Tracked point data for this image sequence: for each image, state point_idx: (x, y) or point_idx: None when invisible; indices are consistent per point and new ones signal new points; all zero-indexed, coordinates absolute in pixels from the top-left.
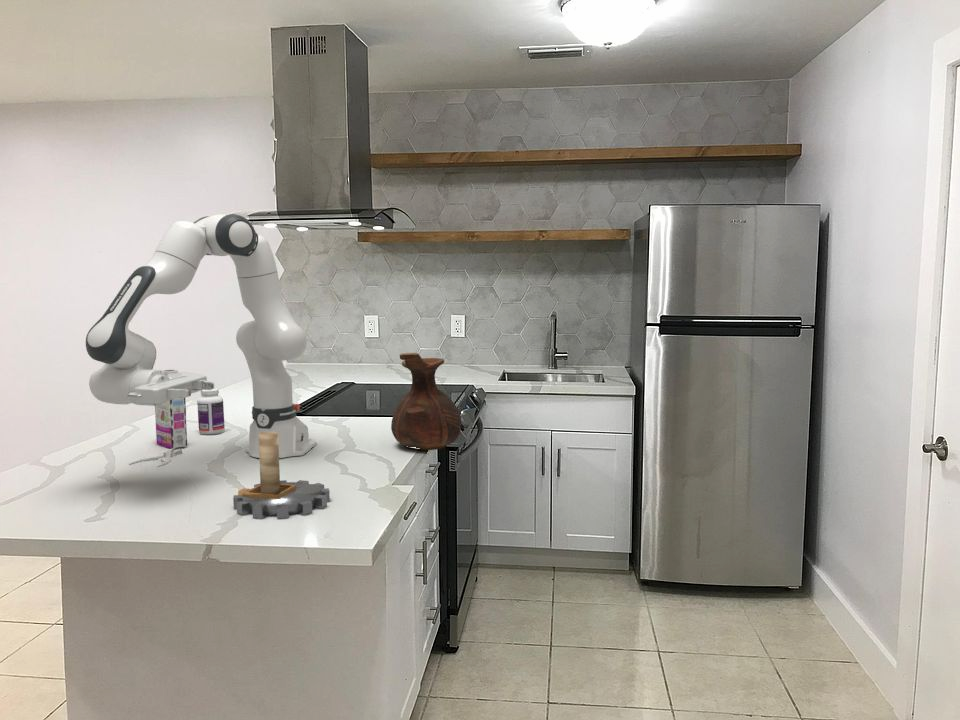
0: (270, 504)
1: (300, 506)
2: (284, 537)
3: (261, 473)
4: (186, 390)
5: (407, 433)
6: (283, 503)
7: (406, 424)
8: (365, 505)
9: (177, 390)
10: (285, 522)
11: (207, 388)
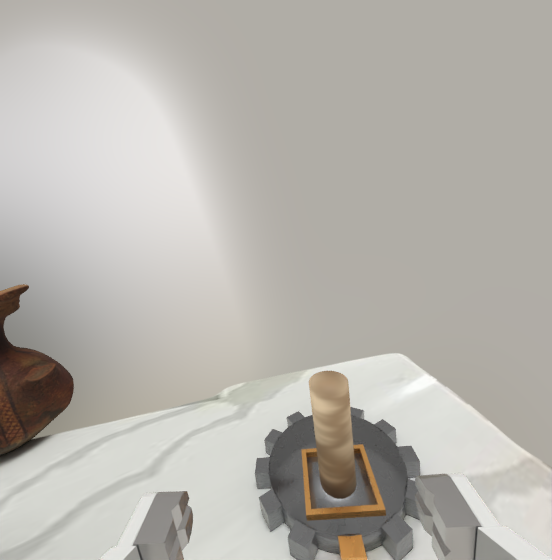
0: (390, 444)
1: (362, 417)
2: (436, 404)
3: (352, 454)
4: (460, 473)
5: (44, 411)
6: (374, 431)
7: (36, 400)
8: (300, 390)
9: (532, 549)
10: (398, 427)
11: (182, 546)
